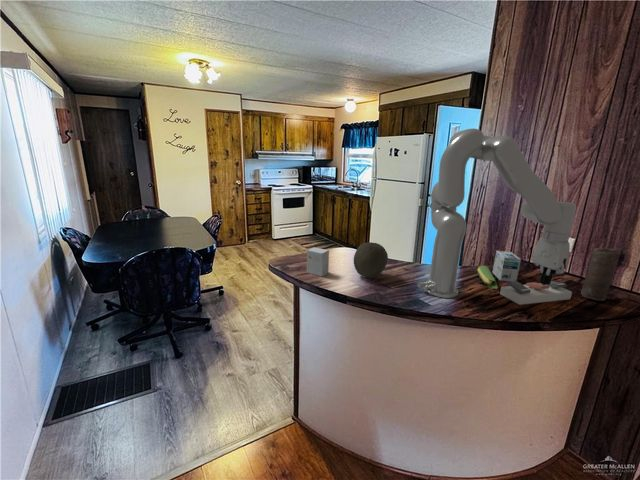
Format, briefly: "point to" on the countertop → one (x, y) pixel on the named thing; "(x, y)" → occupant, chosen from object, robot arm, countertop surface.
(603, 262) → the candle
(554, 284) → the rocker right
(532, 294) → the rocker switch panel
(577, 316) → the countertop surface
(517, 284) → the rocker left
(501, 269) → the light bulb box
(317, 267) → the small box
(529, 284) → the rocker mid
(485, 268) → the edible corn
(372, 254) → the dark brown sphere
